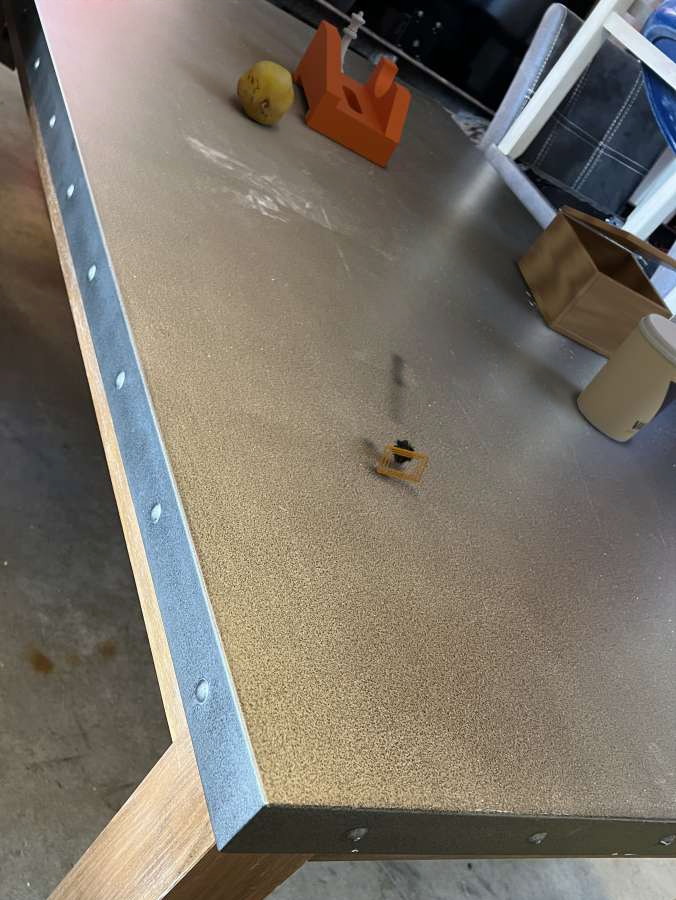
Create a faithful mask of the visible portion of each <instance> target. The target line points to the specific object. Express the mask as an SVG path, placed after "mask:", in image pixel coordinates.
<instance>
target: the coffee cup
mask: <svg viewBox="0 0 676 900" xmlns="http://www.w3.org/2000/svg"><path fill="white" fill-rule="evenodd" d="M675 401H676V323H674V322H673V321H672V320H670V319H669V320H668V319H666V318H665V317H663V316H660V315H658V314H649V315H648V316H647V317H643V318H642V319H641V320H640V321H639V324H638V326H637V327H636V328H635V329H634V330H633V331H632V332H631V334H630V335H629V336H628V337H627V338H626V339H625V341H624V342H623V343H622V344H621V345H620V347H619V348H618V349H617V350H616V351H615V353H614V354H613V355H612V356H611V357H610V359H608V360H607V361H606V362H605V363H604V365H603V366H601V368H600V369H599V371H598V372H597V373H596V374H595V375H594V377H593V378H592V379H591V381H590V382H589V383H588V384H587V385H586V387H585V388H584V389H583V390H582V391H581V392H580V394H579V395H578V397H577V399H576V404H577V407H578V409H579V411H580V412H581V414H582V415H583V417H585V419H586V420H587V421H588V422H589V423H590V424H591V425H592V426H593V427H595V428H596V429H597V430H598V432H600V433H602V434H604V435H605V436H607V437H608V438H610V439H611V440H614V441H616V442H621V443H624V442H627V441H628V440H630V439H631V438H632V437H634V436H635V435H636V434H637V433H639V432H640V431H641V430H643V428H644V427H645V426H646V425H648V424H649V423H650V422H651V421H652V420H654V419H655V418H656V417H657V416H659V415H660V414H661V413H662V412H663V411H665V409H667V408H668V407H669V406H670V405H671V404H672V403H674V402H675Z"/></svg>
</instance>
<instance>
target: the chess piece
mask: <svg viewBox="0 0 676 900" xmlns="http://www.w3.org/2000/svg"><path fill="white" fill-rule="evenodd" d="M363 16H364V12H363V10H361V11H359V12H358V13H357V14H356V13H355V12H352V14H351V22H350V24H349V25H348V26H347V27H343V29H342V32H343V33H344V35H343V37H342V38H341V72H342V73H344V68H343V65H344V64H345V60H344V59H345V55H346V52H347V50H348V48H349V46H350V43H351V41H352V40H356V39H357V38H358V35H357V32H358V29H359V28H360V27H361V26H363V25H365V24H366V21H365V19H364V18H363Z"/></svg>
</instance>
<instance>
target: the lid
mask: <svg viewBox="0 0 676 900" xmlns="http://www.w3.org/2000/svg"><path fill="white" fill-rule="evenodd" d="M560 211H561V212H563V213H564V214H566V215H568V216H570V217H572V218H573V219H575V220H577V221H578V222H580V223H582V224H583V225H585V226H587V227H589V228H590V229H592V230H594V231H595V232H597V233H599V234H601V235H602V236H604V237H606V238H607V239H609V240H611V241H613V242H614V243H616V244H618V245H619V246H621V247H623V248H624V249H626V250H628V251H630V252H631V253H632V254H633V255H637V256H639V257H641V258H643V259H646V260H648V261H650V262H652V263H655V264H656V265H659V266H661V267H663V268H665V269H668V270H670V271H672V272H675V273H676V259H675V258H673V257H672V256H670V255H668V254H667V253H665V252H663V251H662V250H660V249H658V248H657V247H655V246H654V245H652V244H650V243H648V242H647V241H646V240H643V239H642V238H640V237H638V236H636V235H635V234H634V233H631V232H629V231H628V230H625V229H622V228H620V227H618V226H615V225H614V224H610V223H608V222H606V221H603V220H602V219H599V218H596V217H594V216H591V215H589V214H587V213H584V212H582V211H580V210H577V209H575V208H572V207H570V206H568V205H566V204H563V206H562V208H560Z"/></svg>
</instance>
